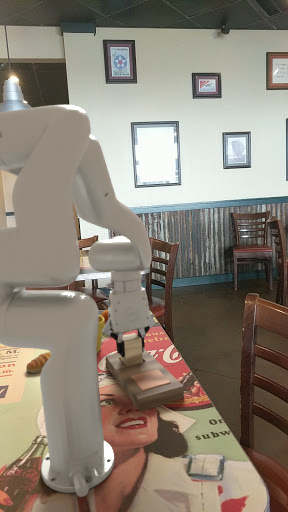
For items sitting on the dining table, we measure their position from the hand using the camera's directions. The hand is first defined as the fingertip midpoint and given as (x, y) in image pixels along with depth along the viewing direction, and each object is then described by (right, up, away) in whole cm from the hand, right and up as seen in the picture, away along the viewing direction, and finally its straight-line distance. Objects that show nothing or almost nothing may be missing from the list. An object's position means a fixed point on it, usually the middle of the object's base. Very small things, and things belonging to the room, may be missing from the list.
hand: (131, 352), depth 98 cm
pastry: (-24, -6, +7) cm, 25 cm away
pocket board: (+3, -6, -4) cm, 8 cm away
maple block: (0, -4, +1) cm, 4 cm away
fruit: (-7, 0, +32) cm, 33 cm away
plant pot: (-13, -4, +15) cm, 20 cm away
